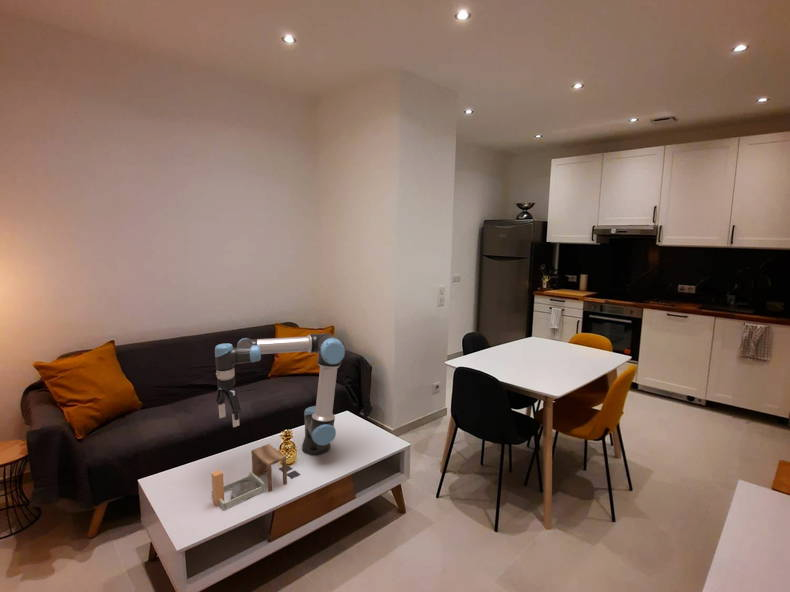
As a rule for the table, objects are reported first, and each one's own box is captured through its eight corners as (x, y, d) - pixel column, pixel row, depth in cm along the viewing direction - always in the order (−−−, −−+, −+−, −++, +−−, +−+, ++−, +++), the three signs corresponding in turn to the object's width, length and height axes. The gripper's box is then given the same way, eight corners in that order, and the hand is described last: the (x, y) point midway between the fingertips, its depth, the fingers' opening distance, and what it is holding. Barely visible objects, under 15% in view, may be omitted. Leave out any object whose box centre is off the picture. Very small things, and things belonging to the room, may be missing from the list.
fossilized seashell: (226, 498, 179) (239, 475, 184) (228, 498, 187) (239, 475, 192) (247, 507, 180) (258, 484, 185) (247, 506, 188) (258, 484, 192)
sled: (251, 479, 196) (250, 452, 194) (264, 490, 187) (263, 462, 185) (209, 497, 182) (207, 468, 180) (220, 510, 173) (218, 480, 171)
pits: (287, 465, 209) (287, 464, 209) (300, 474, 200) (300, 474, 200) (278, 468, 205) (278, 468, 205) (291, 478, 197) (291, 478, 197)
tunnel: (269, 469, 204) (268, 443, 202) (287, 483, 193) (286, 456, 191) (252, 477, 198) (251, 450, 196) (269, 492, 187) (268, 463, 185)
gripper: (205, 373, 194) (209, 416, 198) (230, 386, 178) (234, 432, 181) (221, 369, 200) (224, 411, 203) (247, 381, 183) (250, 426, 186)
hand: (229, 421), depth 192 cm, fingers open, 13 cm apart
